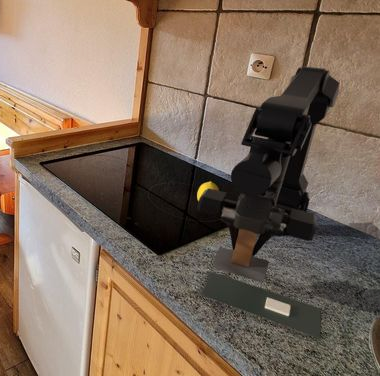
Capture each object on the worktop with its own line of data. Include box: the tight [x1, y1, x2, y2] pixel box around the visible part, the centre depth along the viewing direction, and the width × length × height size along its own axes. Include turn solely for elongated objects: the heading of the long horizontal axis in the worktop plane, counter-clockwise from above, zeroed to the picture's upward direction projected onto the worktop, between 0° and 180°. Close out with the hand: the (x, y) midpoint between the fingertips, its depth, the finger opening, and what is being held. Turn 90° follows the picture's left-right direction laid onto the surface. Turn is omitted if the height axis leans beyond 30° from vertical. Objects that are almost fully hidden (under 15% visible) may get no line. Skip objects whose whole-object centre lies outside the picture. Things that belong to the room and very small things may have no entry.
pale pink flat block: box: [265, 297, 291, 316], centre depth 76 cm, size 4×3×1 cm
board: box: [200, 271, 322, 339], centre depth 78 cm, size 20×9×1 cm, turn 57°
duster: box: [212, 229, 270, 284], centre depth 76 cm, size 9×5×11 cm, turn 57°
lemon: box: [196, 181, 220, 202], centre depth 113 cm, size 6×6×8 cm
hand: (243, 252), depth 76 cm, fingers closed on duster, 3 cm apart
